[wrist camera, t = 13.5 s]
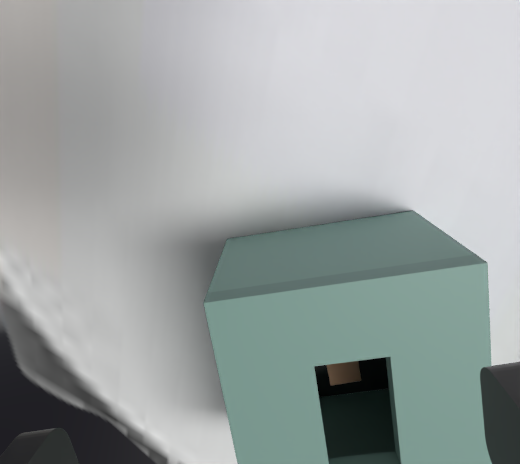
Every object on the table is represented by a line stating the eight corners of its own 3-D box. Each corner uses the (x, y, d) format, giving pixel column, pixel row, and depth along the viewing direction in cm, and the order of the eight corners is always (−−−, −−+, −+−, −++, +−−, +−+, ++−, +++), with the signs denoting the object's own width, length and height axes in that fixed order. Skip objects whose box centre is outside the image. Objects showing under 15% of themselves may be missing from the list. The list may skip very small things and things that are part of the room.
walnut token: (341, 296, 40) (352, 324, 35) (350, 346, 41) (361, 380, 36) (314, 301, 40) (320, 330, 35) (323, 350, 41) (330, 385, 36)
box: (413, 210, 38) (487, 262, 24) (427, 394, 42) (497, 521, 29) (227, 238, 39) (203, 302, 26) (261, 415, 43) (255, 545, 30)
